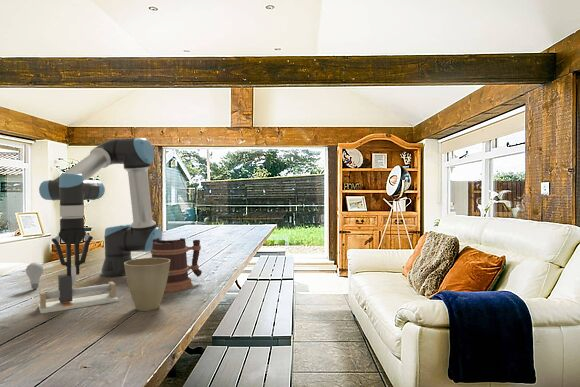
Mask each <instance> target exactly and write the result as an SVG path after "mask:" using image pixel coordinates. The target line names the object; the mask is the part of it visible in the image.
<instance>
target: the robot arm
mask: <svg viewBox="0 0 580 387" xmlns="http://www.w3.org/2000/svg"><path fill="white" fill-rule="evenodd" d="M154 161H155V150H154V147H153V145H152V143H151V141H150V140H148V139H147V138H143V137H132V138H131V137H130V138H129V137H128V138H112V139H110V140H106V141H105V142H102V143H101V144H98V145H97V146H96V147H94V148H92V149H91V150H90V152H89V155H86V157H84V158H83V159H81V160H80V161H78V162H77V163H75V165H72V167H70V168H69V169H67V170H66V171H65V172H63V173H62V174H60V175H59V176H58V177H56V178H55V179H49V180H48V179H47V180H43V181H42V182H41V183H40V184H39V187H38V192H39V196H40V198H42V199H43V200H45V201H59V217H60V219H59V232H58V235H57V236H56V237H53V238H51V242H52V243H53V244H54V245H55V249H56V252H57V256H58V259H59V262H60V264H61V266H65V267H66V274H67V275H68V276H72V286H77V276H78V275H80V265H82V264H85V263H86V260H87V256H88V255H87V254H88V251H89V247H90V243H91V242H92V241H93V239H94V238H93V236H92V235H90V234H87V231H85V218H84V216H85V206H84V205H85V203H84V202H85V201H95V200H99V199H101V198H102V197H104V195H105V191H106V188H105V186H104V184H103V182H102V181H100V180H98V179H97V180H96V179H90V178H91V177H93V176H94V175H95V174H96V173H97V172H99V171H100V170H101V169H104V168H107V167H109V166H110V165H119V164H120V165H123V169H124V170H125V171H127V176H128V185H129V194H130V203H131V204H130V205H131V215H132V220H133V221H132V222H131V223H130V224H129V223H128V224H127V223H126V224H121V225H114V226H109V227H106V228H105V230H104V260H103V263H102V267H101V270H100V274H101V276H104V277H105V276H106V277H118V276H119V277H121V276H126V273H125V267H124V262H126V261H129V260H133V258H132V252H136V253H137V252H142V253H143V252H145V253H151V251H150V250H151V249H152V245H153V239H155V238H159V240H162V239H163V231H162V229H161V227H158V226H157V223H156V222H157V221H155V220H154V219H153V211H152V204H151V203H152V202H151V193H150V183H149V182H150V181H149V173H148V170H149V169H150V168H151V164H153V162H154ZM60 239H61V240H62V242H64V244H65V253H66V254H65V256H66V260H65V257H64V255H63V251H62V248H61V244H60V243H61V240H60ZM83 239H84V240H85V241H84V244H83V247H82V252H81V255H80V243H81V242H82V240H83ZM72 245H73V247H74V249H73V250H74V264H73V265H72ZM80 256H81V257H80Z"/></svg>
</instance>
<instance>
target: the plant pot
mask: <svg viewBox="0 0 580 387" xmlns="http://www.w3.org/2000/svg"><path fill="white" fill-rule="evenodd" d="M124 267H125V273H126V275H125V278H126V283H127V286H128V290H129V294H130V296H131V299H132V302H133V305H134V307H135V309H136V310H137V311H139V312H140V311H141V312H149V311H155V310H157V309H159V308H160V305H161V302H162V299H163V297H164V293H165V292H164V291H165V287H166V283H167V279H168V274H169V267H170V260H169V259H165V258H152V257H141V258H135V259H132V260H129V261H126V262H124Z"/></svg>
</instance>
